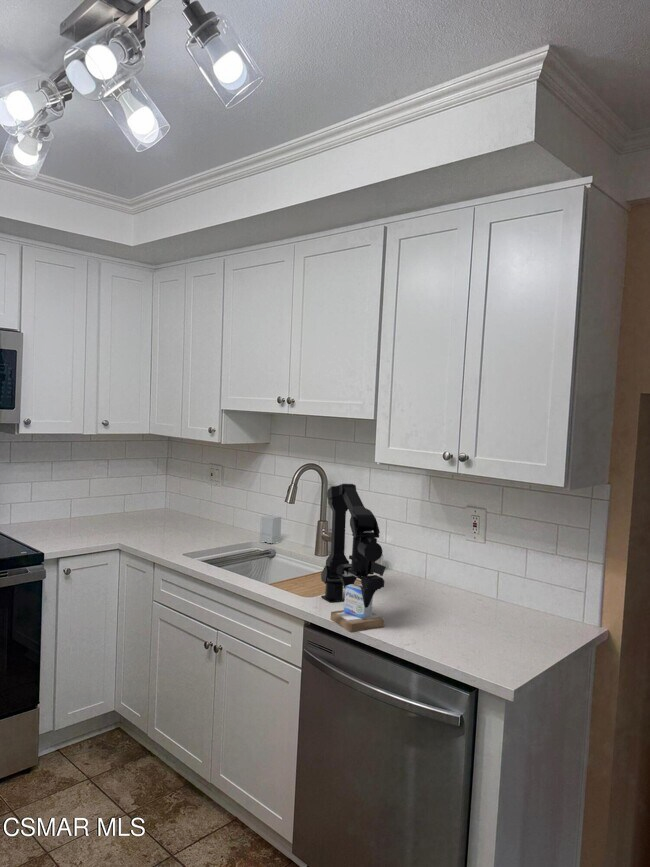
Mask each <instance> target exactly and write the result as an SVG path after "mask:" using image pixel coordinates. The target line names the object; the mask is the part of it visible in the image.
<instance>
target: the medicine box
mask: <svg viewBox="0 0 650 867" xmlns="http://www.w3.org/2000/svg"><path fill="white" fill-rule="evenodd" d="M361 586H362V585H359V584H355V583H354V584H350V585H347V586H346V588H344V598H345V601H343V602H344V604H343V610H344V613H346V614H349V615H353V616H356V617H359V618H363V619H364V618H367V617H370V616H371V615H372V613H373V612H372V611H373V598H374V596H373V597H372V599H371V602H370V604H369V606H368V607H367V608H365V606H364V602H363V597H362V591H361Z"/></svg>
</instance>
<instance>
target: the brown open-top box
mask: <svg viewBox="0 0 650 867" xmlns="http://www.w3.org/2000/svg"><path fill="white" fill-rule="evenodd" d="M330 620H331V621H332V622H334V623H335V624H337V625H338V626H340V627H342V628H344V630H347V631H348V632H350V633H356V632H362V631H363V632H364V631H369V630H375V629H382V628H384V627H385V619H384V618H382V617H381V616H379V615H378V614H376V613H373V612H372V615H371V616H370V617H367V618H364V619H363V618H359V617H356V616H353V615H349V614H346V613H344V609H343V610H335V611H330Z"/></svg>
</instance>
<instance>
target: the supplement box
mask: <svg viewBox="0 0 650 867" xmlns="http://www.w3.org/2000/svg"><path fill="white" fill-rule="evenodd" d="M281 529H282V516H277V515H272V514H268V515H267V514H266V515H264V516H261V517H260V531H259V532H260V535H259V542H260V541H264V542H268V543H275V542H279V541H280V542H281ZM280 542H279V543H280ZM275 544H276V543H275Z"/></svg>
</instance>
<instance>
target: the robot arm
mask: <svg viewBox="0 0 650 867" xmlns="http://www.w3.org/2000/svg"><path fill="white" fill-rule="evenodd" d="M326 497H327V504H328V506H329V508H330V509H331V511H332V513H331V514H332V515H331V516H332V517H331V540H330V541H331V542H330V544H331V545H330V554H329V555H328V557H327V559H326V560H325V565H324V567H323V569H322V571H321V574H320V576H321V578H320V579H321V581H322V583H323V584H325V591H324V593H325V594H324V595H321V598H322V599H323V600H325V601H327V602H328V603H337V602H344V601H345V597H343V595H344V592H343V591H344V589H345V588H346V586H347V585H350V584H355V581H357V579H360V580H361V581H360V582H361V583H360V584H361V585H360V586H361V591H362V597H363V602H364V606H365V608H367V607H368V606H369V604H370V602H371V599H372V597H373V598H374V595H375V593H376V592H377V591H378V590H381V589H382V588H385V579H384V578H383V576H384V573H385V570H386V567H387V566H385V565H383V564H381V563H377V561H378V560H379V559H381V557H382V556H383V548H382V546H381V544H379V543H378V538H380V528H379V524H378V521H377V517H376V516H375V515H374V513H373V512H372V510H371V509H368V508H367V507H365V505H364V503H363V502H362V499H361V496H359V493H358V491H357V486H356V484H353V483H340V484H339V485H332V486H330V487H329V488H328V489H327V491H326ZM347 511H349V514H350V519H349V527H350V531H351V533H352V534H351V535H352V546H351V548H352V551H351V555H348V558H347V556H346V554H345V547H346V546H345V545H346V544H345V543H346V521H347V520H346V518H347V515H346V514H347ZM349 560H350V561H351V563H350V561H349ZM377 574H378V575H377Z"/></svg>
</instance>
